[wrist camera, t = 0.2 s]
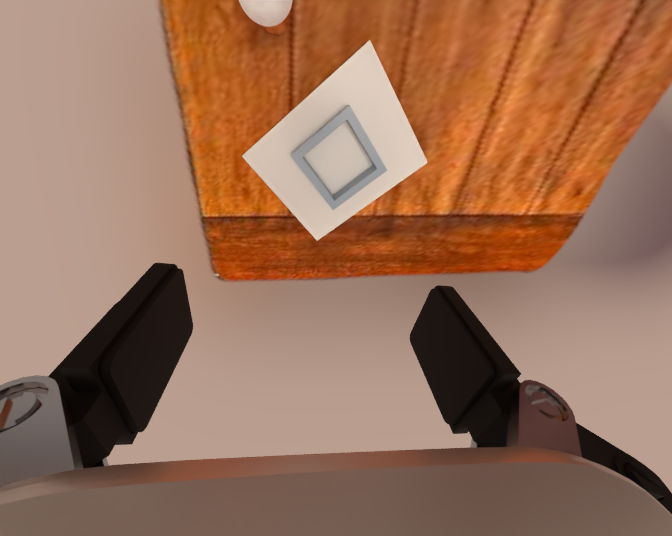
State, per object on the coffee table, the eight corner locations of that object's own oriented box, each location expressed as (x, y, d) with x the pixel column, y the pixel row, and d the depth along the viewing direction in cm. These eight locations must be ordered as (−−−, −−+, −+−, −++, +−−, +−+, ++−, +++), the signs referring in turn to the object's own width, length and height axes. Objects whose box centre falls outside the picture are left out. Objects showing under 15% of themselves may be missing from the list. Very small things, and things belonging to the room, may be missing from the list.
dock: (368, 41, 29) (374, 35, 26) (425, 161, 37) (435, 166, 34) (243, 154, 34) (237, 160, 31) (316, 237, 42) (317, 248, 39)
